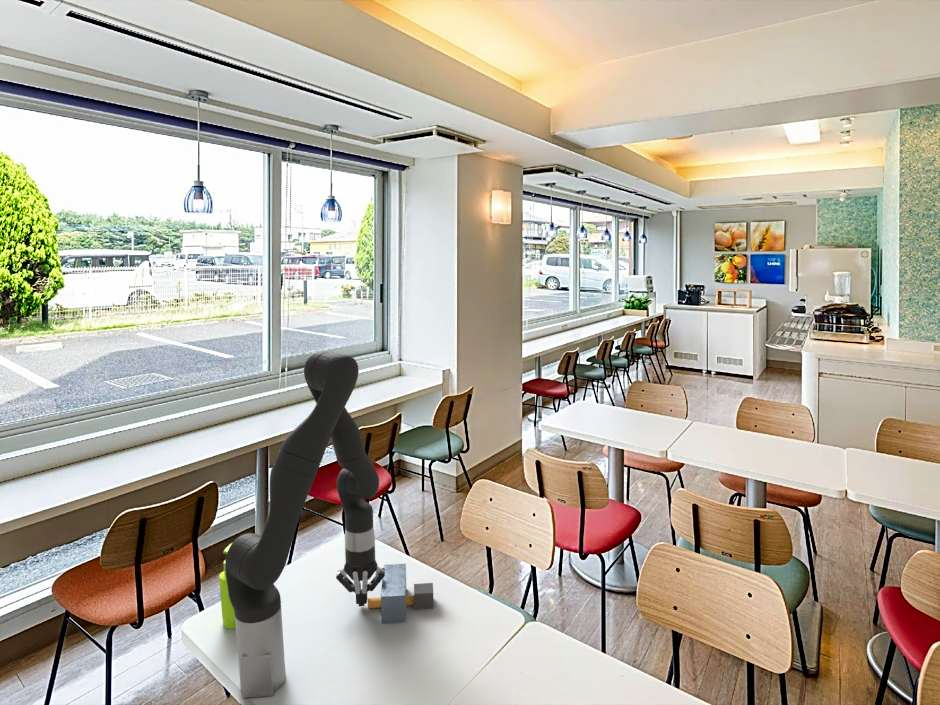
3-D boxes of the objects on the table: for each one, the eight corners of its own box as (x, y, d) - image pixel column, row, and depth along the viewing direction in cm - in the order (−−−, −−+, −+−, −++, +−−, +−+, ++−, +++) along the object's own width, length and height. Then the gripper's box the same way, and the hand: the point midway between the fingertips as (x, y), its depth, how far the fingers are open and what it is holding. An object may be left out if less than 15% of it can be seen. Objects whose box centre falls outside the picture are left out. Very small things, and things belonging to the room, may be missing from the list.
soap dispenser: (254, 612, 147) (248, 540, 143) (241, 629, 140) (235, 555, 137) (232, 610, 148) (226, 539, 144) (218, 628, 141) (211, 553, 137)
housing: (405, 622, 143) (405, 595, 142) (381, 623, 142) (380, 596, 141) (406, 588, 157) (405, 563, 156) (384, 589, 157) (383, 564, 155)
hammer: (433, 608, 148) (433, 592, 148) (367, 612, 147) (366, 596, 146) (432, 598, 153) (432, 582, 152) (368, 602, 151) (368, 586, 150)
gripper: (331, 552, 141) (334, 615, 144) (385, 549, 143) (386, 611, 146) (335, 537, 149) (337, 597, 152) (386, 534, 150) (388, 594, 153)
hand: (361, 604), depth 149 cm, fingers closed
